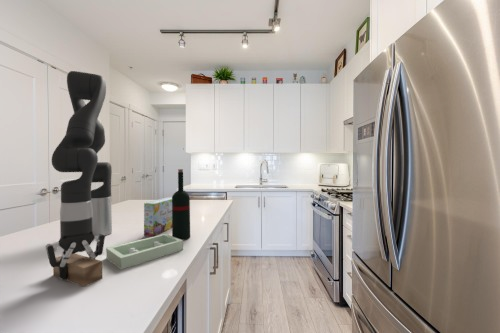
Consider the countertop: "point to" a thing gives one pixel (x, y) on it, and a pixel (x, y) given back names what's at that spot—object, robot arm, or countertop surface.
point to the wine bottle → (181, 211)
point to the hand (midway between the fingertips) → (77, 274)
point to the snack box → (157, 216)
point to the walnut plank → (81, 269)
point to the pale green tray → (143, 250)
